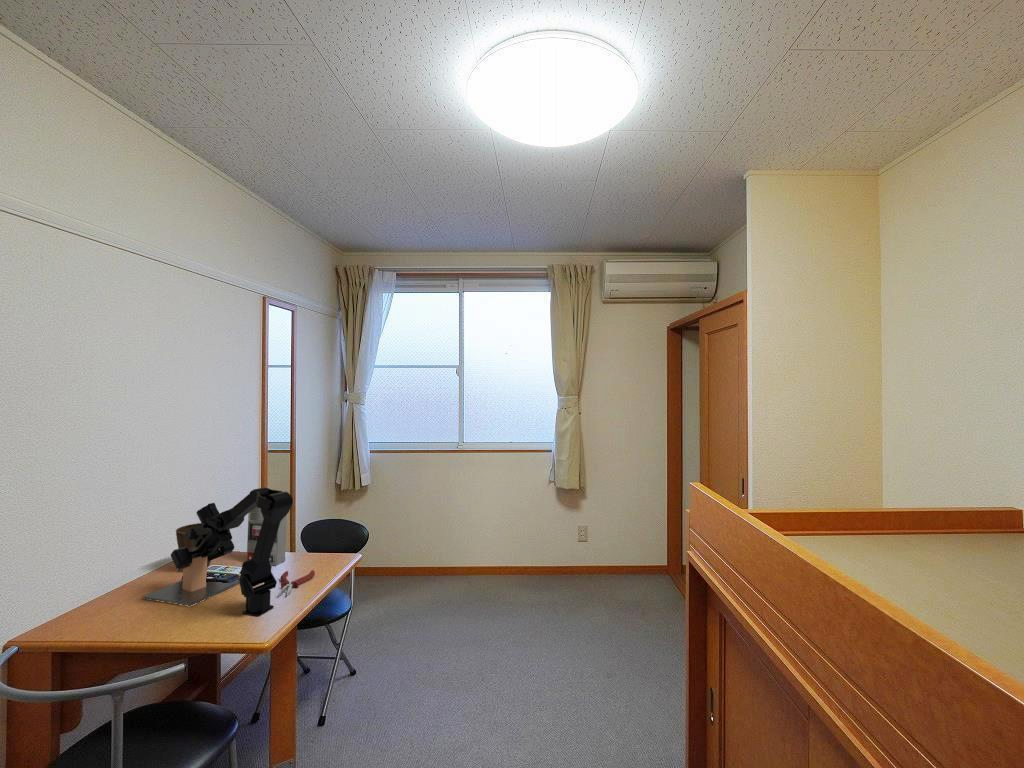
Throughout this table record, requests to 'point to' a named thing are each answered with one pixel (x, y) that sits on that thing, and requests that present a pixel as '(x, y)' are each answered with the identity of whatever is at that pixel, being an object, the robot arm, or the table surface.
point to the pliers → (293, 582)
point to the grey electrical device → (253, 532)
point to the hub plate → (185, 597)
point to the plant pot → (183, 540)
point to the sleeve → (195, 574)
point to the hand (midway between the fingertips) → (192, 565)
